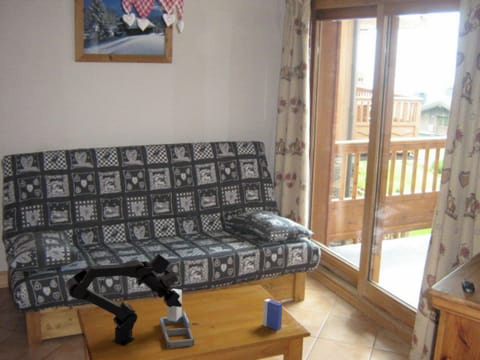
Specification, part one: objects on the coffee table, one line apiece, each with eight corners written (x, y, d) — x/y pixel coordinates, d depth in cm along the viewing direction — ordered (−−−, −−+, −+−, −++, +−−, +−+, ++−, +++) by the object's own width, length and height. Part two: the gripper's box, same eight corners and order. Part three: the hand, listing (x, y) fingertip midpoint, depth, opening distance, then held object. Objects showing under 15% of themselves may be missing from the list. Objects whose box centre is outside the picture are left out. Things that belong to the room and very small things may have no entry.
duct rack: (194, 345, 235) (194, 334, 234) (167, 348, 232) (167, 336, 231) (184, 321, 254) (184, 311, 253) (160, 324, 251) (160, 313, 250)
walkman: (281, 328, 252) (282, 302, 249) (277, 330, 249) (279, 304, 247) (265, 322, 256) (267, 297, 253) (262, 325, 254) (263, 299, 251)
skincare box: (172, 314, 249) (172, 288, 247) (181, 315, 248) (182, 289, 246) (166, 320, 244) (167, 293, 241) (176, 322, 243) (177, 295, 240)
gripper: (175, 275, 231) (200, 296, 239) (158, 259, 247) (181, 279, 255) (156, 297, 229) (181, 317, 237) (140, 279, 245) (164, 299, 252)
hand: (177, 302), depth 245 cm, fingers closed on skincare box, 7 cm apart
